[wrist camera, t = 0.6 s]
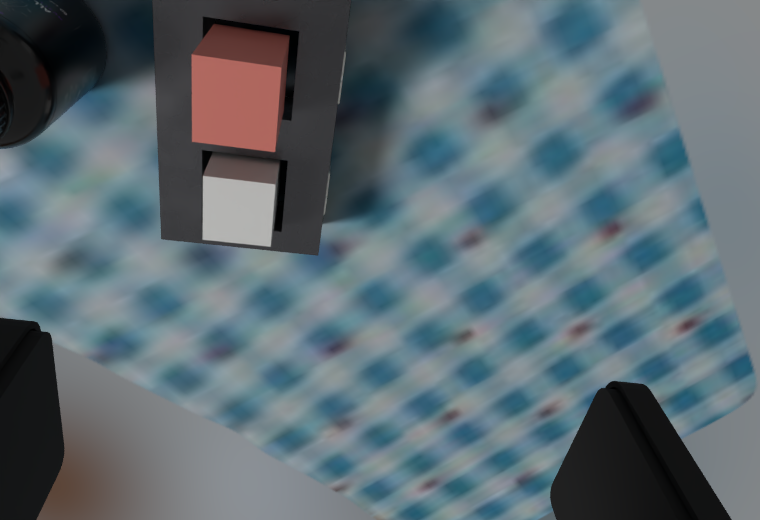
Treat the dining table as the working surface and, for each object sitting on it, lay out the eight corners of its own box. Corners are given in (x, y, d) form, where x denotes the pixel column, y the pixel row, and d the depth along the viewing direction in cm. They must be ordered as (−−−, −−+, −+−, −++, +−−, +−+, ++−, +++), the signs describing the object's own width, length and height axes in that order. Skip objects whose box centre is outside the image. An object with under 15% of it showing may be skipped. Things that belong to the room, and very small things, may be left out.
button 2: (213, 23, 32) (191, 54, 27) (289, 35, 33) (281, 67, 28) (212, 100, 34) (191, 141, 29) (283, 110, 35) (275, 152, 30)
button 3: (220, 134, 39) (203, 175, 34) (283, 142, 39) (275, 184, 34) (218, 192, 41) (202, 239, 36) (278, 199, 42) (270, 246, 37)
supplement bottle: (72, -41, 33) (-41, 3, 23) (130, 79, 37) (54, 162, 27) (-43, -8, 34) (-201, 49, 24) (26, 107, 38) (-86, 198, 28)
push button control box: (163, -312, 27) (139, -335, 24) (384, -262, 29) (390, -277, 26) (175, 208, 42) (161, 239, 39) (321, 225, 43) (320, 255, 40)
